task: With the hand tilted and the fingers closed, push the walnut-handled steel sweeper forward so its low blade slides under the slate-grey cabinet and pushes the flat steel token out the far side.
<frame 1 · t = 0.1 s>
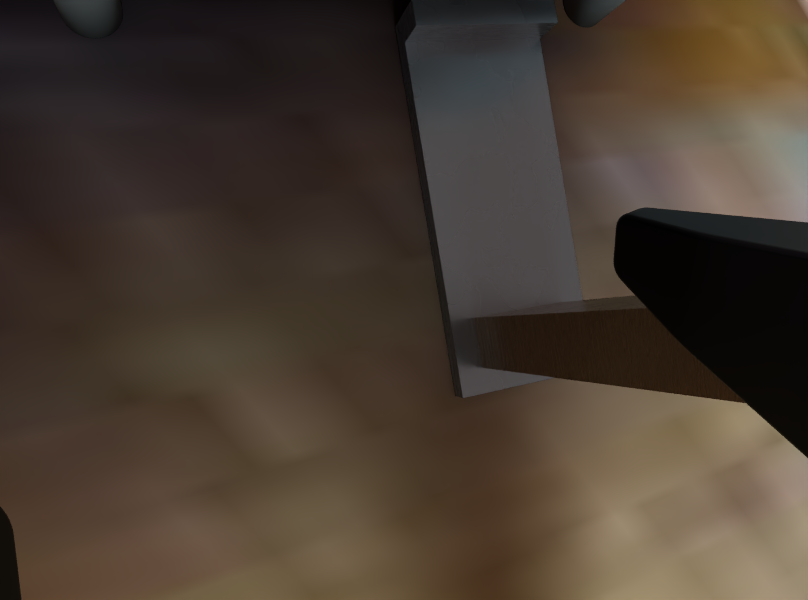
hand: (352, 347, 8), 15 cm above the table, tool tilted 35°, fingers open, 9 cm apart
sweeper: (513, 334, 25), on the table
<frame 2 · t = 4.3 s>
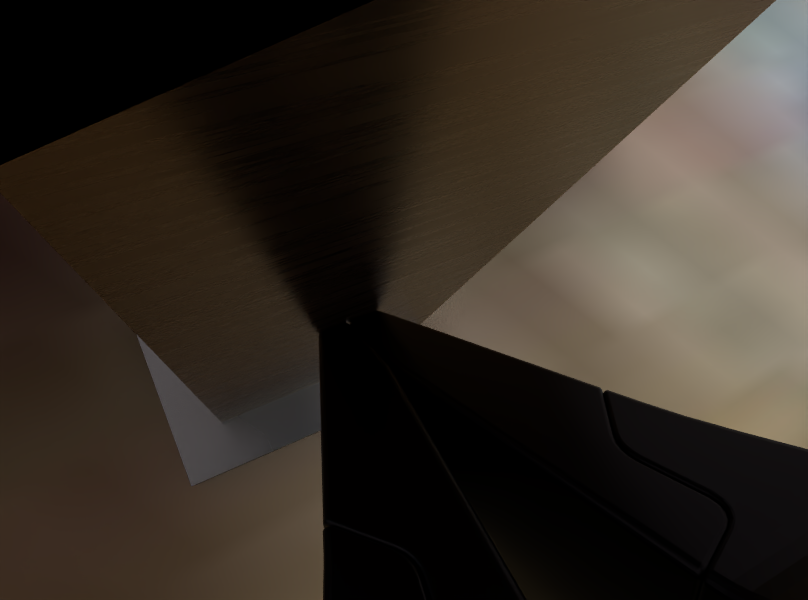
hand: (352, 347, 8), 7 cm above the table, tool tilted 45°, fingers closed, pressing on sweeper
sweeper: (289, 352, 15), on the table, touching gripper
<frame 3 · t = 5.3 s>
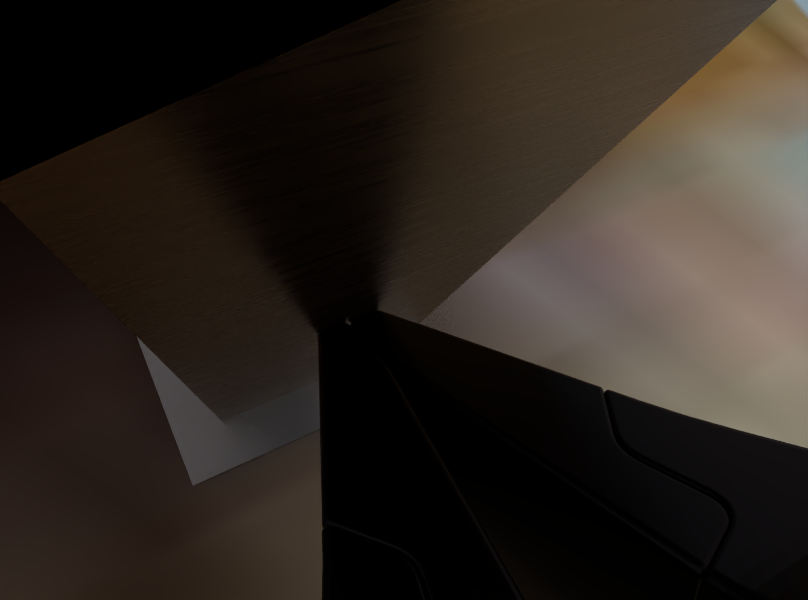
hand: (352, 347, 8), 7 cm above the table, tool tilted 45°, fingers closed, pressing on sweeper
sweeper: (290, 350, 15), on the table, touching gripper
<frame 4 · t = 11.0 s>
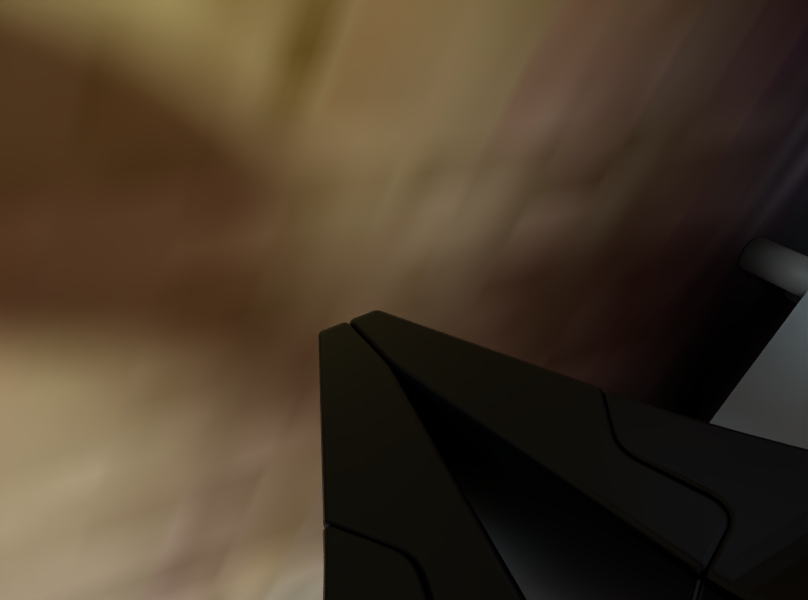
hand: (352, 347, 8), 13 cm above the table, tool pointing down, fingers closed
cabinet: (678, 404, 39), on the table
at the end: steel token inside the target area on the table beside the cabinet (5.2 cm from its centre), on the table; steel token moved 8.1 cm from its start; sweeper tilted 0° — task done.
